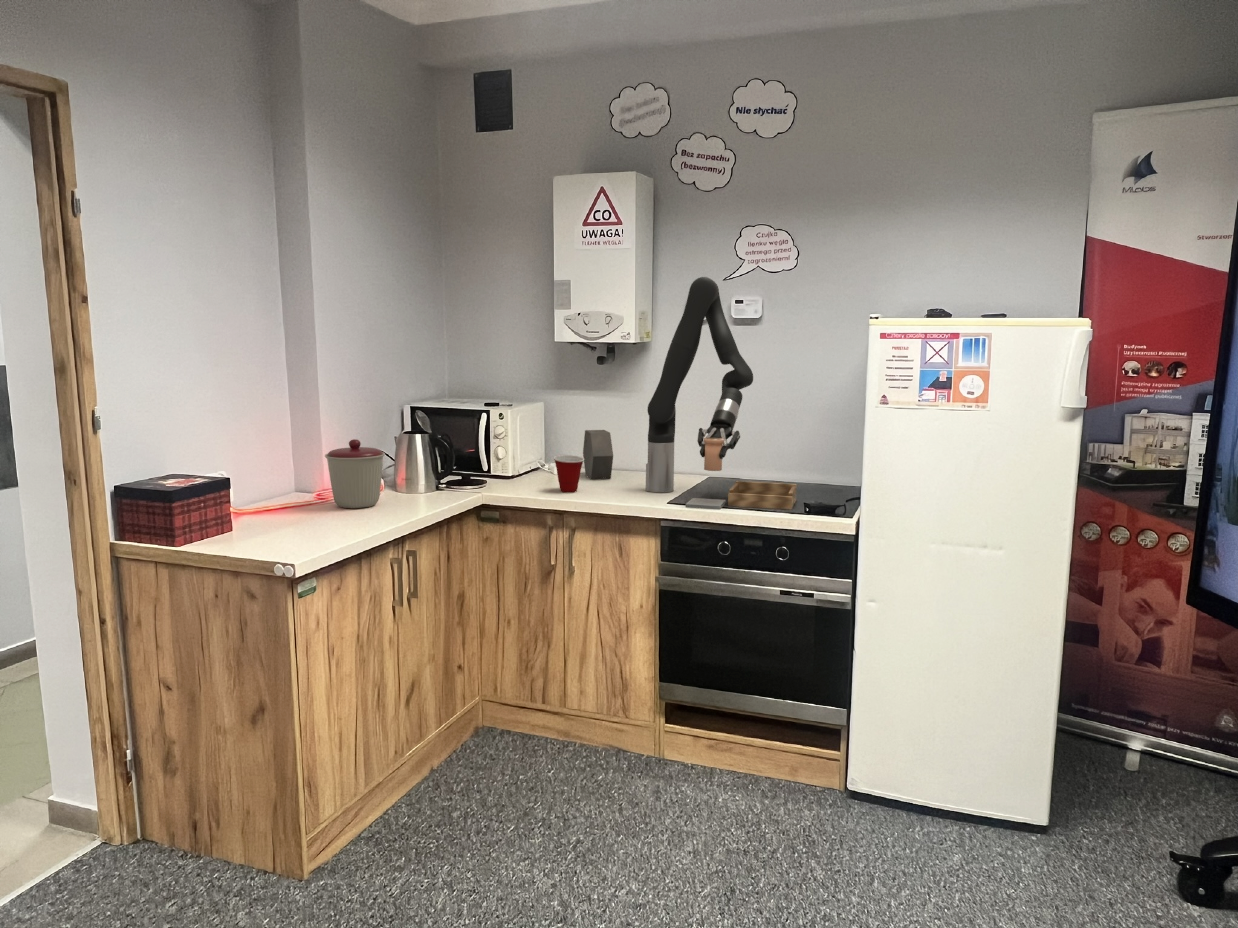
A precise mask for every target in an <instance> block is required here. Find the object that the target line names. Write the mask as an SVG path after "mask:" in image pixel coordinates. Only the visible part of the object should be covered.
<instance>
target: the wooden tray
mask: <svg viewBox="0 0 1238 928" xmlns="http://www.w3.org/2000/svg"><path fill="white" fill-rule="evenodd" d="M727 497H728V498H727V506H728V507H743V508H757V509H758V508H761V509H772V510H773V509H774V510H775V509H776V510H793V508H794V506H795V503H796V501H797V483H785V482H784V483H782V482H780V483H779V482H765V481H763V482H762V481H741V480H735V483H734V484H733V485H732V486H731V487H730V488H729V490H728V494H727Z"/></svg>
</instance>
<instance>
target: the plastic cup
mask: <svg viewBox="0 0 1238 928" xmlns="http://www.w3.org/2000/svg"><path fill="white" fill-rule="evenodd" d="M553 460H554V463H555V467H556V474H557V481H558V485H559V486H558V487H559V490H560V492H561V491H562V493H576V492H577V490H578V488H579V482H580V476H581V471H582V467H583V464H584V460H585V459H584V458H583V457H582V456H578V455H571V454H563V455H562V454H559V455H555V456H553ZM575 491H576V492H575Z"/></svg>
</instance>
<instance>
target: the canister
mask: <svg viewBox="0 0 1238 928" xmlns="http://www.w3.org/2000/svg"><path fill="white" fill-rule="evenodd" d="M361 444H362V443H361V441H360V440H359V439H356V438H354V439H351V440H349V442H348V446H349V447H341V448H336V449H332V450H330V451H328V452H327V453H326V454H324V457H325V458H326V460H327V466H328V473H329V480H330V485H331V492H332V495H333V496H332V497H333V501H334V503H335V505H336V506H337V507H340V508H344V509H364V508H365V509H366V508H369V507H370V508H371V507H373V506H375V505H376V504H377V503H378V502H379V500H380V497H381V496H380V495H381V488H382V487H381V486H382V476H383V475H382V474H383V465H384V464H383V462H384V461H383V460H384V457H385V455H386V453H385V452H384V451H382V450H380V449H378V448H376V447H367V446H365V447H364V446H361Z"/></svg>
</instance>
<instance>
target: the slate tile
mask: <svg viewBox="0 0 1238 928" xmlns="http://www.w3.org/2000/svg"><path fill="white" fill-rule="evenodd" d="M726 503H727V501H726V499H713V498H700V497H699V498H698V497H692V498H691V499H690V500H689V501H688V502H686V503H685V508H691V509H692V508H693V509H709V510H712V509H713V510H721V509H722V508H723V507H724V506H725V504H726Z"/></svg>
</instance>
